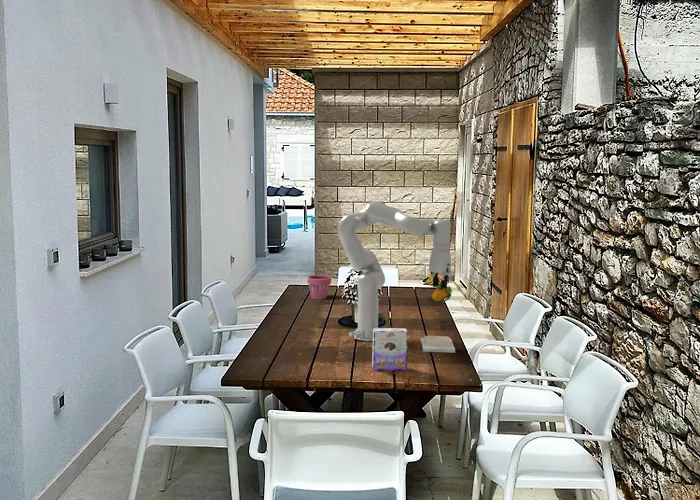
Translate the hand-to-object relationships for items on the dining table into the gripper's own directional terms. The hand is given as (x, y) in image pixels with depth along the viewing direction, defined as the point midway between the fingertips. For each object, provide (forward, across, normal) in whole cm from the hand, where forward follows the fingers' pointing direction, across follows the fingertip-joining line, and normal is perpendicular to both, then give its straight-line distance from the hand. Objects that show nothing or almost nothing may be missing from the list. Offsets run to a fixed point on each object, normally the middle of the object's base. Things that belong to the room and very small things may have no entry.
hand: (439, 287), depth 341 cm
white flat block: (+27, 0, 0) cm, 27 cm away
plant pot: (+28, -126, +19) cm, 130 cm away
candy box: (+28, +17, -42) cm, 53 cm away
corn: (+7, +1, 0) cm, 7 cm away
